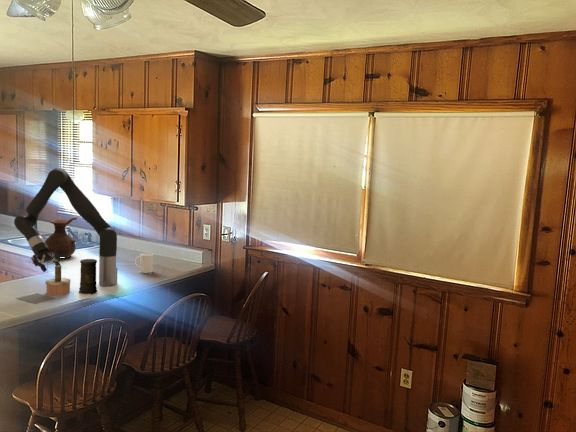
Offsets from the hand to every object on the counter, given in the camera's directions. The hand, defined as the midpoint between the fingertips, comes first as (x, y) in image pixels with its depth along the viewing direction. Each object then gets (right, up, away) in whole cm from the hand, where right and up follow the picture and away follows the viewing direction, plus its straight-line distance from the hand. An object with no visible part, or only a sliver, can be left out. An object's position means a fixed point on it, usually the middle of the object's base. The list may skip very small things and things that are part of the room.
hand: (52, 269), depth 248 cm
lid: (+3, -7, -1) cm, 7 cm away
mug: (+32, -8, +56) cm, 65 cm away
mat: (-2, -14, -13) cm, 19 cm away
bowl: (+3, -13, 0) cm, 13 cm away
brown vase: (-37, -1, +82) cm, 90 cm away
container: (+17, -13, +4) cm, 22 cm away
